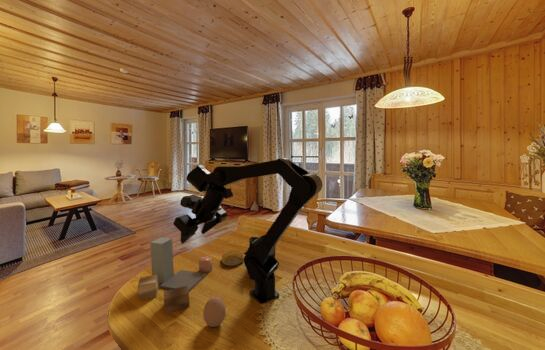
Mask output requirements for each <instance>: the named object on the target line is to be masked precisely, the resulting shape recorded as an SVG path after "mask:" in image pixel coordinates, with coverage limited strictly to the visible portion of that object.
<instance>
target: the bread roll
mask: <svg viewBox="0 0 545 350" xmlns="http://www.w3.org/2000/svg"><path fill="white" fill-rule="evenodd" d="M244 257H245V256H244V253H243V252H242V251H241V250H239V249H238V248H237V249H236V248H232V249H228V250H226V251H225V252H223V254H222V256H221V263H223V265H225V266H229V267H231V266H232V267H233V266H238V265H240V264H242V263H244V261H243V260H244Z"/></svg>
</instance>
